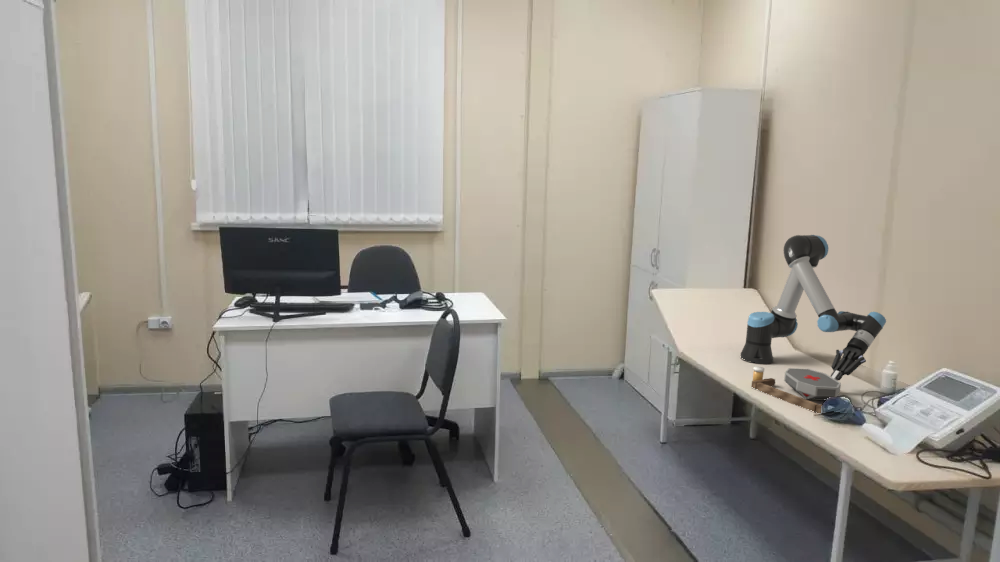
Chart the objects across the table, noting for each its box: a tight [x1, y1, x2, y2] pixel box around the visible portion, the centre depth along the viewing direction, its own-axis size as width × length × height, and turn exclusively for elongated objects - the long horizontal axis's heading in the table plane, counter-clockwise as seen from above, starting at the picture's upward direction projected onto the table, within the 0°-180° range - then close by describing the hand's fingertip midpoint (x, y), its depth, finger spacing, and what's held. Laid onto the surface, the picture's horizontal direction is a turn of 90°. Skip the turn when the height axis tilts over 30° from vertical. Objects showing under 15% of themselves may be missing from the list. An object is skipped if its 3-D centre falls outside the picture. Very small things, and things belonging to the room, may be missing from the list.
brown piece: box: [750, 377, 823, 414], centre depth 266 cm, size 33×12×3 cm, turn 28°
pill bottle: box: [752, 366, 765, 381], centre depth 283 cm, size 4×4×7 cm
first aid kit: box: [783, 367, 842, 401], centre depth 272 cm, size 18×8×25 cm
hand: (830, 384), depth 276 cm, fingers closed
